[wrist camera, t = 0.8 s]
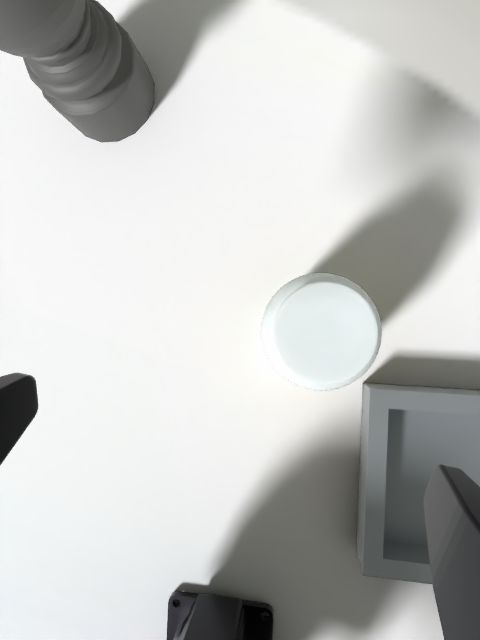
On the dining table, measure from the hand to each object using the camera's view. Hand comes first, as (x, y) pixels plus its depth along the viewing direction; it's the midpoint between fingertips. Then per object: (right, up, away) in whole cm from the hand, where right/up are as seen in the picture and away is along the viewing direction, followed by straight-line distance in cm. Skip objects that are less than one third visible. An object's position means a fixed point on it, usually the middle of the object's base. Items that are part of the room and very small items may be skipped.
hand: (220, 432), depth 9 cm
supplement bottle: (+5, +2, +16) cm, 17 cm away
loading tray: (+13, -7, +15) cm, 20 cm away
